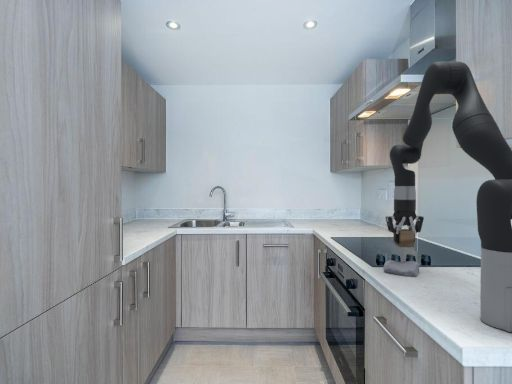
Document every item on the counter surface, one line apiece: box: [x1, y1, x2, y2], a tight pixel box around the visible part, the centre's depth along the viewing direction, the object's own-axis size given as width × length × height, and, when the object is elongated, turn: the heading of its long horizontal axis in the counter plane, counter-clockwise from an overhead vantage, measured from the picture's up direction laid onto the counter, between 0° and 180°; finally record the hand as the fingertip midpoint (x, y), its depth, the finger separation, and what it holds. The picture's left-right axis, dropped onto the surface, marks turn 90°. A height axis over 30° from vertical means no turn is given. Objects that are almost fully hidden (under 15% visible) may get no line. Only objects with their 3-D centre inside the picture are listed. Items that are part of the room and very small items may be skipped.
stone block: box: [383, 259, 420, 278], centre depth 120 cm, size 12×5×10 cm
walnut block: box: [394, 228, 415, 248], centre depth 122 cm, size 5×5×6 cm
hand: (404, 243), depth 122 cm, fingers closed on walnut block, 5 cm apart
